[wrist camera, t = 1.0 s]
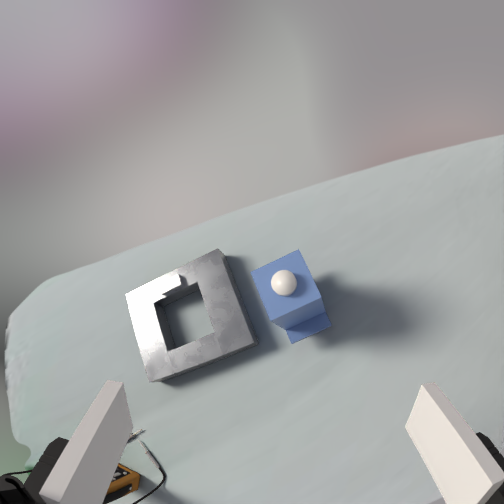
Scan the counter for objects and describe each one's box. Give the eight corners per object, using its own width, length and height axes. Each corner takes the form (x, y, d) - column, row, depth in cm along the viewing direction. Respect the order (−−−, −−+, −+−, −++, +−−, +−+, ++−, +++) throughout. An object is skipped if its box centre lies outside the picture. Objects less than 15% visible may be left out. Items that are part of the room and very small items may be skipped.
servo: (304, 269, 37) (289, 230, 26) (332, 328, 34) (329, 312, 23) (270, 286, 38) (241, 253, 27) (295, 345, 35) (275, 337, 24)
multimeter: (173, 441, 34) (55, 476, 16) (162, 500, 31) (57, 552, 13) (90, 401, 39) (-24, 399, 20) (83, 456, 36) (-22, 471, 18)
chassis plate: (224, 255, 41) (215, 246, 38) (259, 343, 36) (252, 341, 33) (136, 298, 42) (122, 293, 39) (159, 381, 37) (145, 382, 34)
